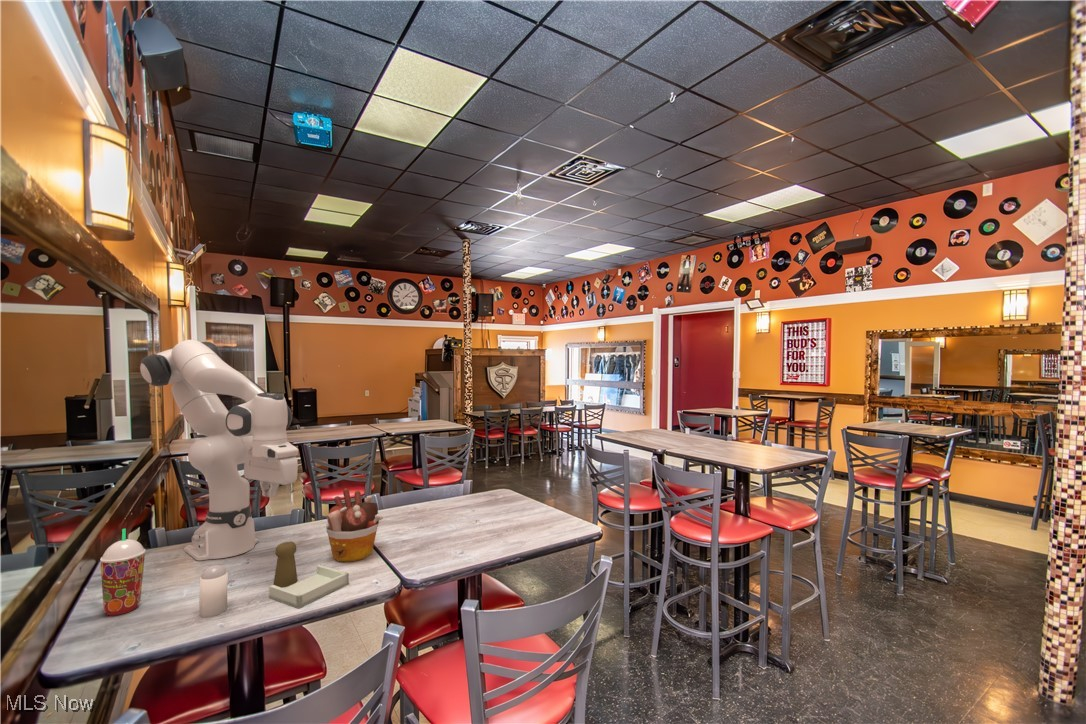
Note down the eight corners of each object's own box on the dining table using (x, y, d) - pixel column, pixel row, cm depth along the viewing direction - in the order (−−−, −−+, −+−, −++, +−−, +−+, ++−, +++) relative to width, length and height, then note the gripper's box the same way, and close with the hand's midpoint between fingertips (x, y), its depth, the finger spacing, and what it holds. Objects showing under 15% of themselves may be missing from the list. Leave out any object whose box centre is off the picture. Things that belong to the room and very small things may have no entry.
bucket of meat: (387, 559, 145) (388, 496, 145) (331, 572, 135) (332, 504, 136) (370, 540, 161) (370, 483, 162) (319, 551, 151) (319, 490, 152)
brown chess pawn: (280, 589, 124) (281, 548, 125) (268, 584, 128) (269, 544, 128) (302, 581, 129) (302, 542, 130) (290, 576, 133) (290, 537, 133)
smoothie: (91, 622, 108) (93, 536, 109) (108, 605, 116) (110, 526, 116) (136, 614, 112) (138, 532, 112) (149, 599, 119) (151, 521, 120)
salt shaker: (194, 614, 112) (195, 567, 112) (219, 603, 117) (220, 559, 117) (207, 619, 109) (207, 572, 109) (231, 609, 114) (232, 563, 114)
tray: (269, 597, 120) (269, 586, 120) (320, 575, 133) (320, 564, 133) (298, 608, 114) (298, 596, 114) (348, 584, 128) (348, 573, 128)
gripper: (237, 447, 135) (237, 494, 135) (281, 453, 126) (280, 503, 125) (259, 444, 141) (258, 489, 140) (302, 449, 131) (301, 498, 131)
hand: (269, 496), depth 133 cm, fingers closed
